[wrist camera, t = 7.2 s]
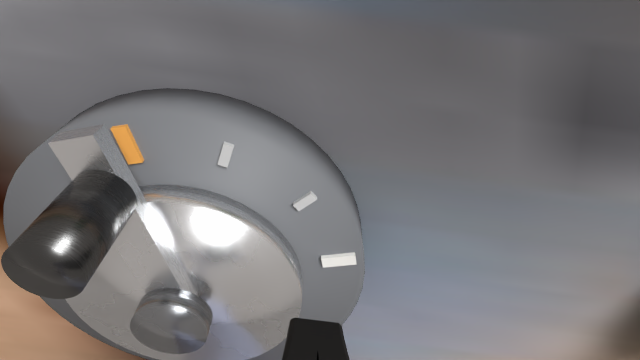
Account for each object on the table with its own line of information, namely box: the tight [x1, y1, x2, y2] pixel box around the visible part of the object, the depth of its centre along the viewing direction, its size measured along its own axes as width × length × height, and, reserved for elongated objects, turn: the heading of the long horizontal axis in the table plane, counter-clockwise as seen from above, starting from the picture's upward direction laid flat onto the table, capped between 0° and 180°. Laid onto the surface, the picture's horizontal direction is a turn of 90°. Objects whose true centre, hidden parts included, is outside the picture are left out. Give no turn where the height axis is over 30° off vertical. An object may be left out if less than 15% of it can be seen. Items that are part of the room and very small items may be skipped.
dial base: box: [4, 88, 365, 360], centre depth 20 cm, size 17×17×3 cm
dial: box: [1, 124, 303, 360], centre depth 16 cm, size 14×11×6 cm
